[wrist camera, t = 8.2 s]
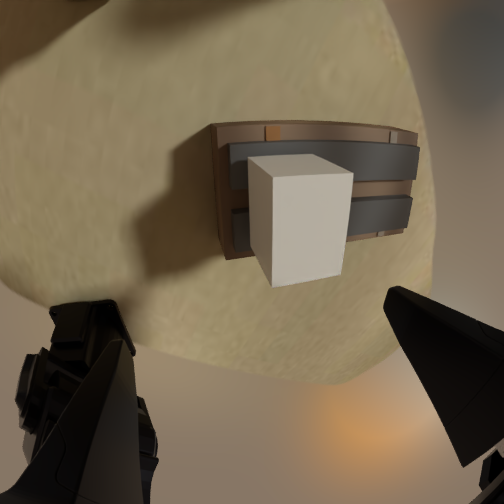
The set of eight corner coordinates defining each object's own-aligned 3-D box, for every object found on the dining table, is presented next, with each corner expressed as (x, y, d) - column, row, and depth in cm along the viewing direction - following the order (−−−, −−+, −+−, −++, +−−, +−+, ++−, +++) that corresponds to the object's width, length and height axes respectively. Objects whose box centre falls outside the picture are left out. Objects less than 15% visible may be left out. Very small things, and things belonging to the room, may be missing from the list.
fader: (304, 150, 15) (353, 173, 11) (301, 230, 18) (340, 274, 13) (243, 153, 14) (272, 177, 10) (246, 237, 17) (272, 287, 13)
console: (392, 126, 19) (425, 135, 16) (381, 217, 23) (408, 237, 20) (210, 123, 16) (218, 128, 13) (218, 238, 20) (228, 267, 17)
